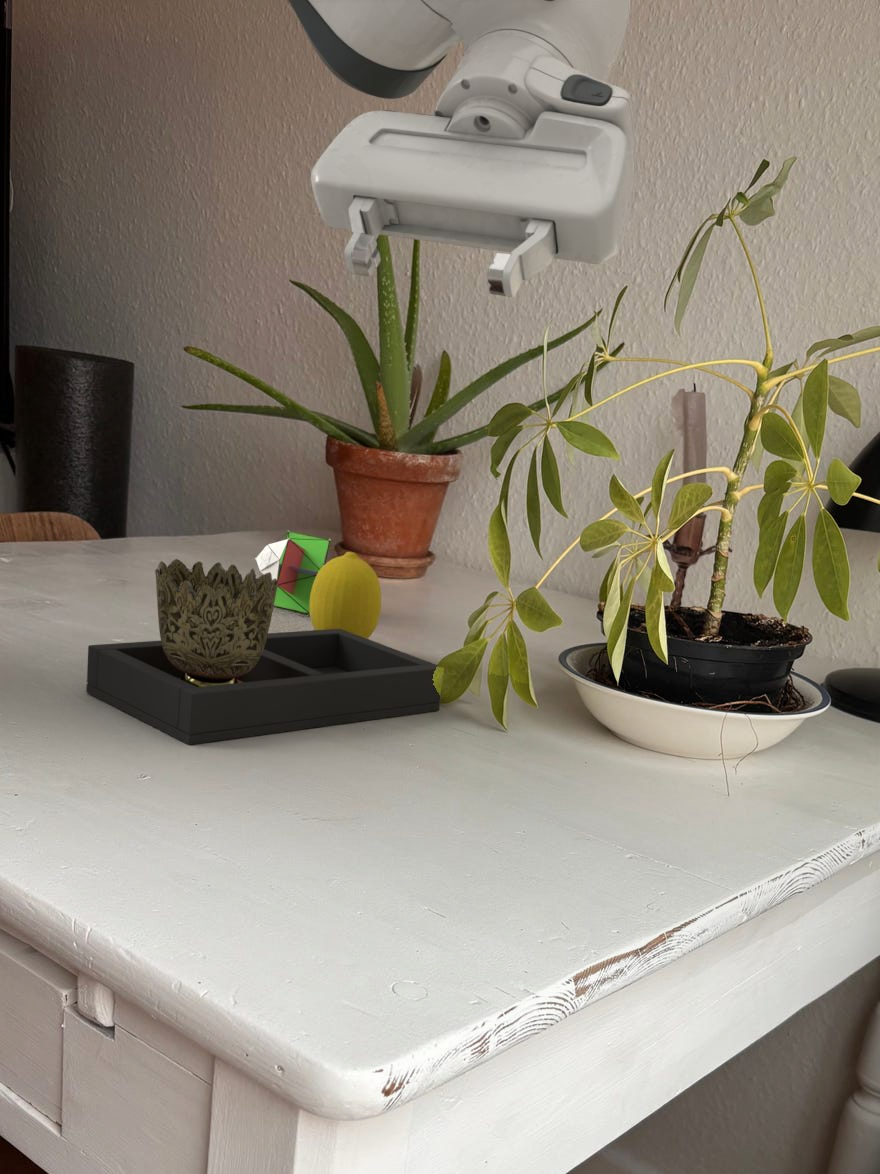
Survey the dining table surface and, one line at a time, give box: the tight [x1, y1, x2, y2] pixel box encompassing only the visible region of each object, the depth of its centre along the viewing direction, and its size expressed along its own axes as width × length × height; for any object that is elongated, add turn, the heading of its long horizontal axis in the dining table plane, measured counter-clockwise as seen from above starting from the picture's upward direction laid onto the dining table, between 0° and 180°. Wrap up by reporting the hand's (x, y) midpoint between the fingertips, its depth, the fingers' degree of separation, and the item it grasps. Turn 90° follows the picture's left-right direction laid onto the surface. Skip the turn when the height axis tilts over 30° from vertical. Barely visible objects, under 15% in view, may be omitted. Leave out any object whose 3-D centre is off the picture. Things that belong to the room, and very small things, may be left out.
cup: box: [154, 558, 277, 687], centre depth 80 cm, size 8×7×8 cm
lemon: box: [309, 551, 382, 639], centre depth 100 cm, size 6×6×8 cm
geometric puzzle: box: [254, 530, 335, 616], centre depth 113 cm, size 7×7×8 cm
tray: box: [86, 629, 442, 746], centre depth 85 cm, size 11×21×3 cm, turn 137°
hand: (426, 276), depth 77 cm, fingers open, 8 cm apart
